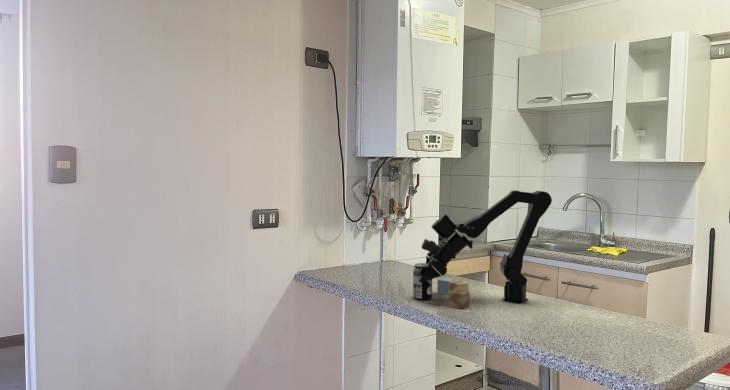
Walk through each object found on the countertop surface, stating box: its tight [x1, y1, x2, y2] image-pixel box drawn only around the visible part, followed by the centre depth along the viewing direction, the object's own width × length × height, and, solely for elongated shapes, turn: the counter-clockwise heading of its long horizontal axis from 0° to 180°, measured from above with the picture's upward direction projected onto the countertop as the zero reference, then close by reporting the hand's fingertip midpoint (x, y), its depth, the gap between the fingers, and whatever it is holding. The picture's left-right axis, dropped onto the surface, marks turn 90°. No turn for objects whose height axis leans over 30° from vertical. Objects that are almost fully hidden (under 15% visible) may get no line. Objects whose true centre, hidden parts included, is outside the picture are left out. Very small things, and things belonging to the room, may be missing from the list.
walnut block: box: [448, 289, 471, 310], centre depth 173 cm, size 5×5×5 cm
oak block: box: [448, 279, 470, 296], centre depth 187 cm, size 5×5×5 cm
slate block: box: [437, 277, 455, 296], centre depth 192 cm, size 5×5×5 cm
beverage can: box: [412, 262, 433, 302], centre depth 183 cm, size 7×7×12 cm
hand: (419, 279), depth 183 cm, fingers open, 9 cm apart
